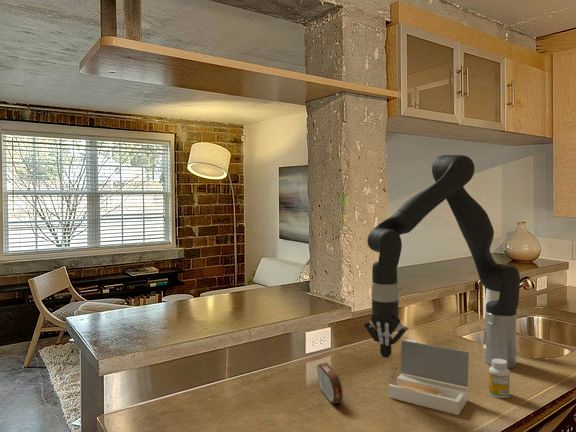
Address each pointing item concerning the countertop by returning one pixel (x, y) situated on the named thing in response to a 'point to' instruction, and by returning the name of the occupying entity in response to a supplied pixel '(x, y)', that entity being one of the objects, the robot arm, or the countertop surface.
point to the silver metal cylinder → (490, 299)
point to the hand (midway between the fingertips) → (385, 356)
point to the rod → (424, 391)
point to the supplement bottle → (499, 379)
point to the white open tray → (448, 402)
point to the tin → (329, 383)
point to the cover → (435, 363)
